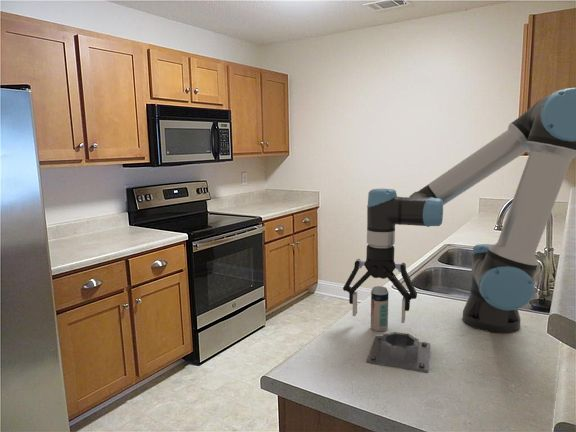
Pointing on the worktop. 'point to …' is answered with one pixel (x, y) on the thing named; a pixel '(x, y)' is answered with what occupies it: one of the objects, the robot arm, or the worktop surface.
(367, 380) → the worktop surface
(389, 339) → the duct flange
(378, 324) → the beer can
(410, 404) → the worktop surface
